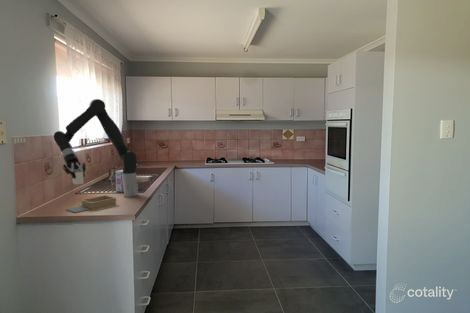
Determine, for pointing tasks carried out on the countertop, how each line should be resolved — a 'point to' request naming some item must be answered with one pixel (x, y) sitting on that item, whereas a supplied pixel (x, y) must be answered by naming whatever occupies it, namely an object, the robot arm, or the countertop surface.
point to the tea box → (78, 177)
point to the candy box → (119, 181)
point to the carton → (99, 202)
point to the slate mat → (77, 209)
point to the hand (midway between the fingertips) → (79, 177)
